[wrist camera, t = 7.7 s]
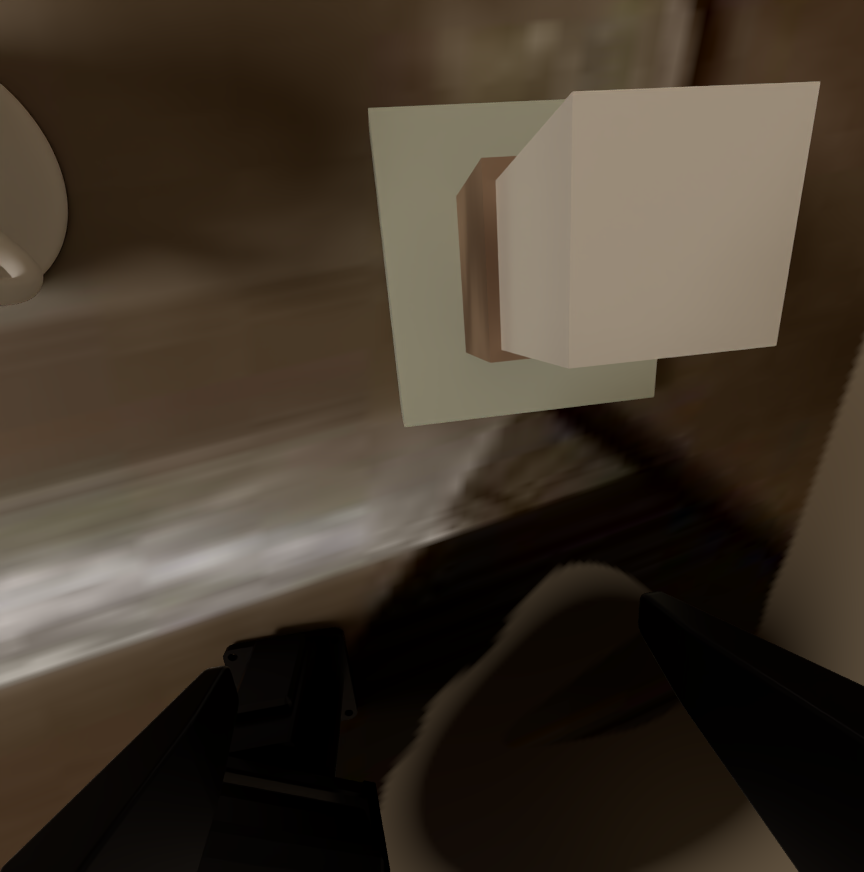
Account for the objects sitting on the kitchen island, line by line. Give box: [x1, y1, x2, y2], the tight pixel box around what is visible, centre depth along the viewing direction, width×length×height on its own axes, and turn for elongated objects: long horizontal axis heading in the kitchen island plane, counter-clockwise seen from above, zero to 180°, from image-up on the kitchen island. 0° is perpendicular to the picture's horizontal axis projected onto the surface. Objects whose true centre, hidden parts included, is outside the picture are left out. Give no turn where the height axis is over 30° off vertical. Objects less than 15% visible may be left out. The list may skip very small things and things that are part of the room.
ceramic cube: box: [496, 82, 820, 369], centre depth 11 cm, size 5×5×5 cm
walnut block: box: [456, 156, 531, 363], centre depth 15 cm, size 6×6×4 cm
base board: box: [368, 99, 657, 427], centre depth 18 cm, size 12×12×2 cm
